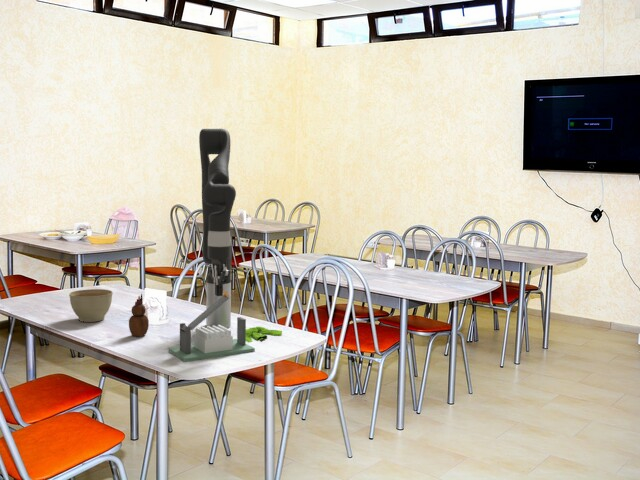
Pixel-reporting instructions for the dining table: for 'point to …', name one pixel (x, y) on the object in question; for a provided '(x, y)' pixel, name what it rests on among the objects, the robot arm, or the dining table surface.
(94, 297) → the planter bowl
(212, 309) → the wood-capped grey post
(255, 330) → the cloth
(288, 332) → the dining table surface
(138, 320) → the wooden figurine
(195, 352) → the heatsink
